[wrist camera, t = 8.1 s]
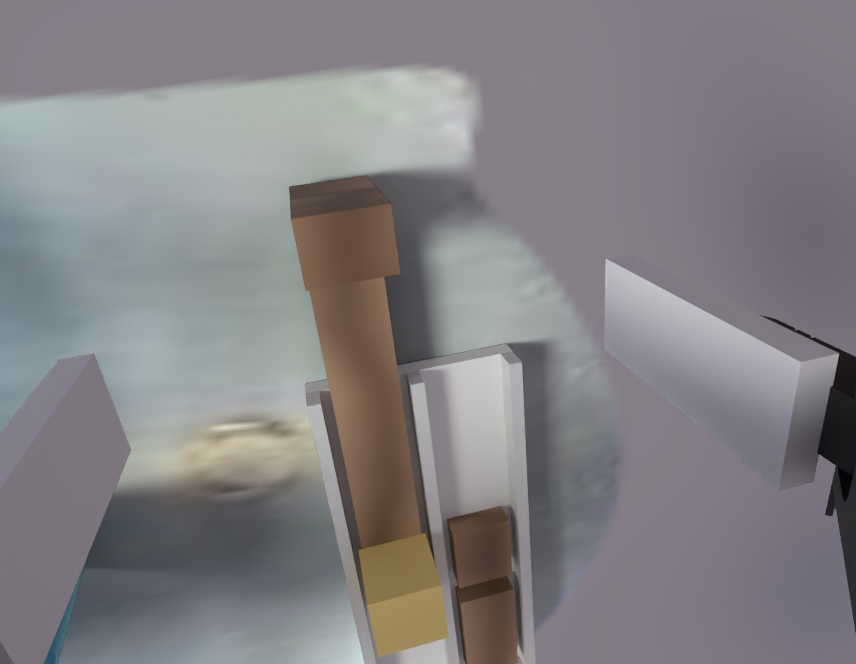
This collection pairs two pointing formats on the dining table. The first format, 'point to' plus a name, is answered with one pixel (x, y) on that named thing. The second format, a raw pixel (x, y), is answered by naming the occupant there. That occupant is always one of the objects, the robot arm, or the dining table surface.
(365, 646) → the lane board
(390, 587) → the cube
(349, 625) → the dining table surface
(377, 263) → the strip
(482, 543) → the broken strip
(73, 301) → the dining table surface
